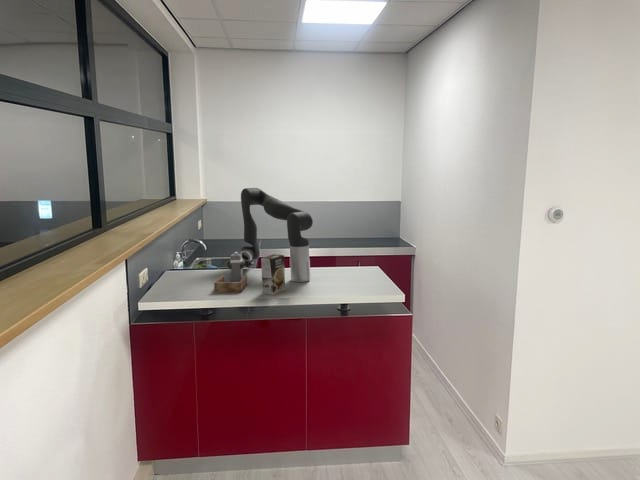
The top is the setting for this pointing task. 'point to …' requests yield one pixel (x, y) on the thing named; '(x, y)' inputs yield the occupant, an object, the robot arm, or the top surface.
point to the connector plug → (236, 267)
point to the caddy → (230, 285)
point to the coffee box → (273, 274)
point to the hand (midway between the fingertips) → (235, 266)
